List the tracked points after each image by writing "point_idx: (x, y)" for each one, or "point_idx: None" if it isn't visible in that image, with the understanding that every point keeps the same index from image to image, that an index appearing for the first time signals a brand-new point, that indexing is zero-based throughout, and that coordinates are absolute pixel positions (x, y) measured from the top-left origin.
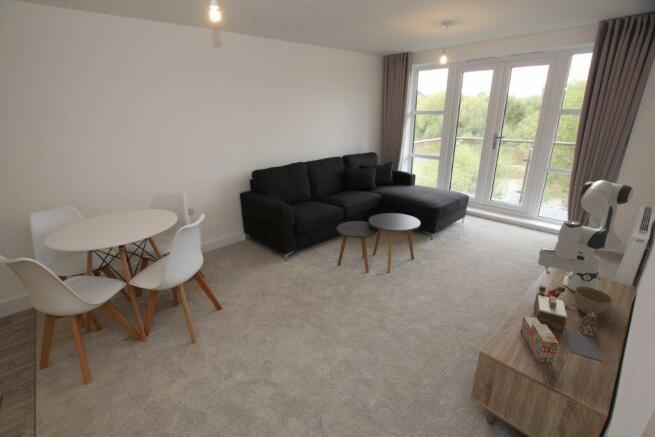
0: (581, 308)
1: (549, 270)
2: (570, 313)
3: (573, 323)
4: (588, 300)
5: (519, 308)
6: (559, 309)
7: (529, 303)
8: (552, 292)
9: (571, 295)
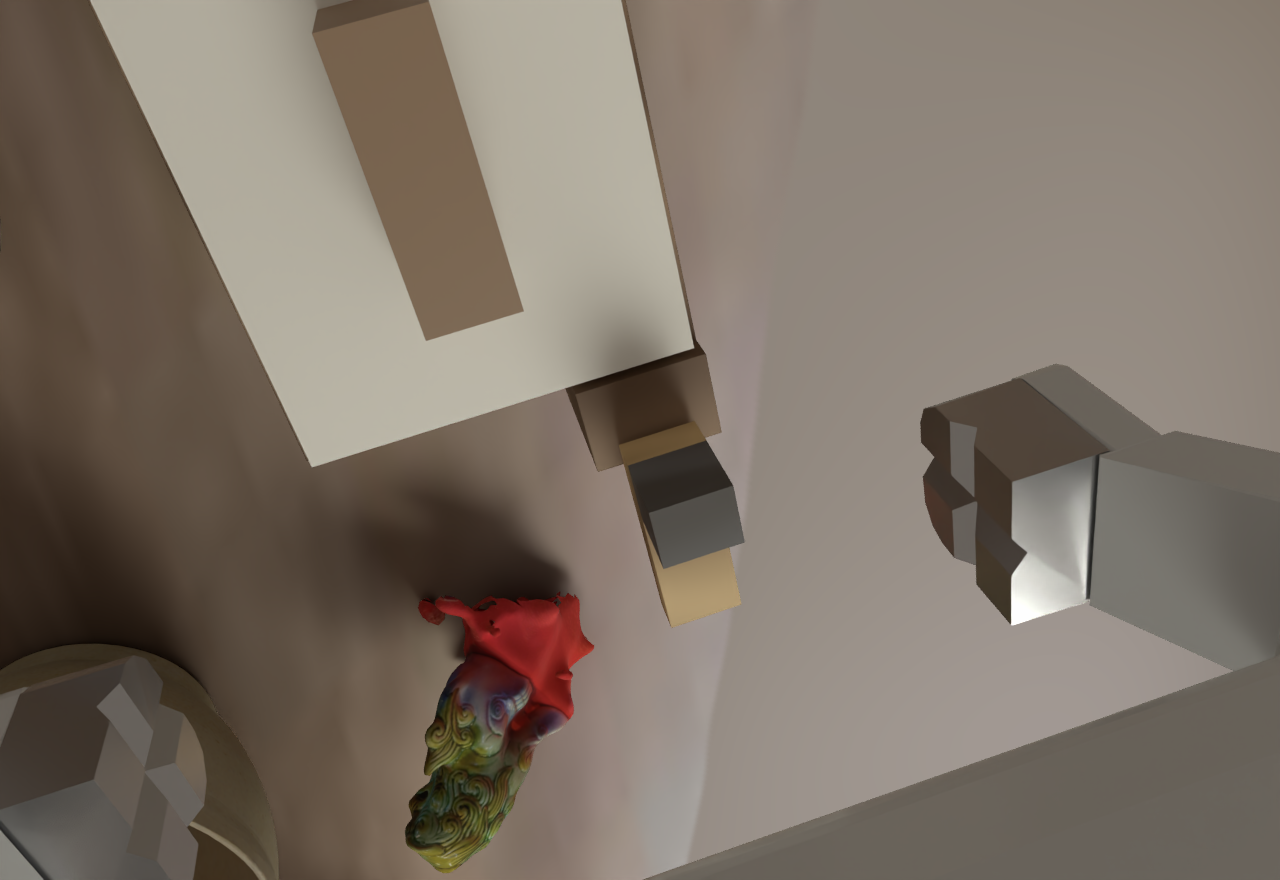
0: None
1: (1031, 614)
2: (224, 504)
3: (96, 279)
4: None
5: (795, 103)
6: (247, 69)
7: (702, 347)
8: (527, 708)
9: (352, 868)
